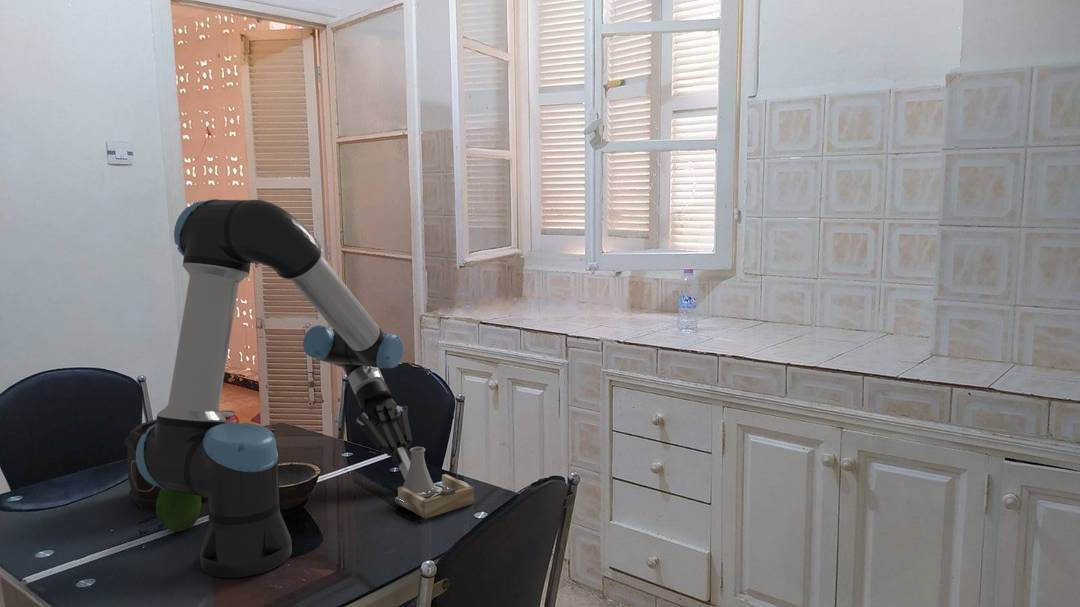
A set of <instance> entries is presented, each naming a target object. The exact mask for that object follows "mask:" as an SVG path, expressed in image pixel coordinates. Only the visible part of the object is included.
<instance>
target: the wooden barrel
mask: <svg viewBox="0 0 1080 607" xmlns="http://www.w3.org/2000/svg"><path fill="white" fill-rule="evenodd" d="M155 424H156V419H154V420H153V419H152V420H149V421H146V422H143V423H139V424H138V425H136V426H135V427H134V428H132V429H131V430H130V431H129V433H128V434H129V435H128V437H126V438H125V439H124V440H125V441H124V444H125V445H126V446H127V452H126V454H127V455H126V464H127V478H128V482H129V487H130V490H129V491H128V495H129V497H130V498H131V499H132V500H133V501H134V503H135V504H136V505H137V506H138V507H139V508H140V509H142V511H155V512H156V501H157V498H158V495H159V492H160V489H161V488H160V487H158V486H155V485H152V484H150V483H149V482H147V481H146V480H145V479H144V477H143V476H142V475H141V474H140V472H139V470H138V467H137V463H136V449H137V445H138V442H139V440H140V438H141V436H142V435H143V434H145V433H146V430H147V429H148V428H149V427H151V426H153V425H155ZM206 501H208V498H207V497H203V496H201V503H203V502H206Z"/></svg>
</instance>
